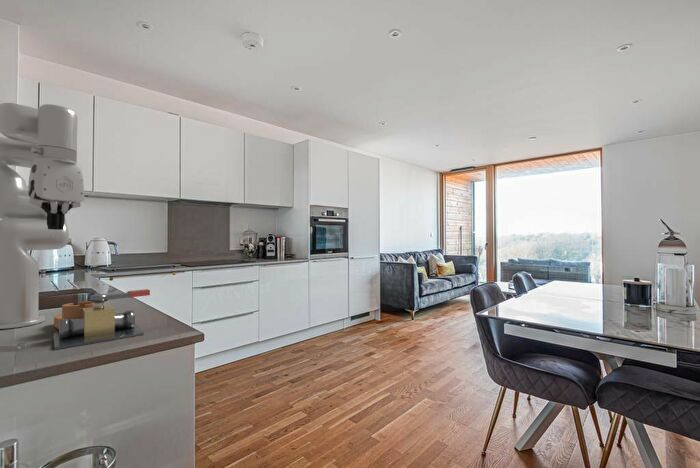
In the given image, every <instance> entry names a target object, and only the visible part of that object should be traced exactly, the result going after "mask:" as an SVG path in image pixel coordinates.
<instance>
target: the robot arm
mask: <svg viewBox="0 0 700 468" xmlns="http://www.w3.org/2000/svg"><path fill="white" fill-rule="evenodd" d="M0 134H1V135H3V136H4V137H3V136H0V330H4V329H5V330H6V329H15V328H21V327H28V326H32V325H37V324H40V323H42V322H44V321H45V320H46V317H45V315H39V291H40V290H39V286H40V285H39V282H40V281H39V279H40V278H39V276H40V274H39V273H40V269H39V268H40V265H39V262H38V261H37V260H36V259H35V258H34V257H33V256H32V255H31V254H30V253H29V252H28V251H46V250H47V251H50V250H53V251H54V250H60V249H64V248H65V247H66V246H67V245H68V243H69V239H70V238H69V237H70V235H69V229H68V225H67V220H66V215H67V214H68V213H69V211H70V210H71V209H77V208H80V207H81V205H82V204H81V203H82V202H83V201H84V200H85V188H84V187H85V186H84V185H85V184H84V175H83V171H82V168H81V165H80V164H77V160H78V156H77V154H78V153H77V151H78V114H77V113H76V112H75V111H74V110H73V109H72V108H71V109H70V108H68V107H65V106H62V105H57V104H42V105H40V106H39V107H38V108H37V107H36V108H35V107H32V106H27V105H23V104H19V103H14V102H2V103H0ZM9 166H12V167H13V166H14V167H20V168H29V169H30V171H29V176H28V185H27V182H26V180H25V179H24V177H22V176H21V175H20V174H19V173H18V172H17V171H15V170H14V169H13V168H11V167H9ZM27 186H28V187H27Z"/></svg>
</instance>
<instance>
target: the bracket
mask: <svg viewBox="0 0 700 468" xmlns="http://www.w3.org/2000/svg"><path fill="white" fill-rule="evenodd" d="M89 307H93V302H91V301H90V300H89V301H87V300H86V301H78V302H77V304H75V305H74V302H70V303H65V304H62V305H61V313H59V314H57V315H53V327H54V328H56V329H58V330H59V321H60V319H64V318H69V319H77V318H83V308H89Z"/></svg>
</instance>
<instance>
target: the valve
mask: <svg viewBox="0 0 700 468" xmlns="http://www.w3.org/2000/svg"><path fill="white" fill-rule="evenodd" d="M144 332H145V331H143V330H142V329H141V328H140V327H139V326H138V325H137V324H136V315H135V312H134V310H133V309H129V310H125V311H124V312H117V313H116V308H115V307H114V306H113V305H112V304H109V305H105V301H98V302H93V307H89V308H83V318H77V319H69V318H64V319H60V321H59V329H58V332H53V344H54V345H53V347H54V351H55V350H56V351H57V350H62V349H67V348H73V347H80V346H85V345H92V344H97V343H98V344H99V343H104V342H108V341H114V340H119V339H120V340H121V339H127V338H133V337H138V336H139V337H140V336H144V335H145V334H144Z"/></svg>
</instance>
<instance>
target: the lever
mask: <svg viewBox="0 0 700 468" xmlns="http://www.w3.org/2000/svg"><path fill="white" fill-rule="evenodd" d="M89 296H90V299H89V301H91V302H98V301H104V302H105V301H111V300H118V299H119V300H120V299H126V298H127V299H130V298H137V297H145V296H146V297H147V296H151V290H150V289H148V288H147V289H135V290H128V291H125V292H119V293H118V292H117V293H108V294H107V293H97V294H91V295H89Z"/></svg>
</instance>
